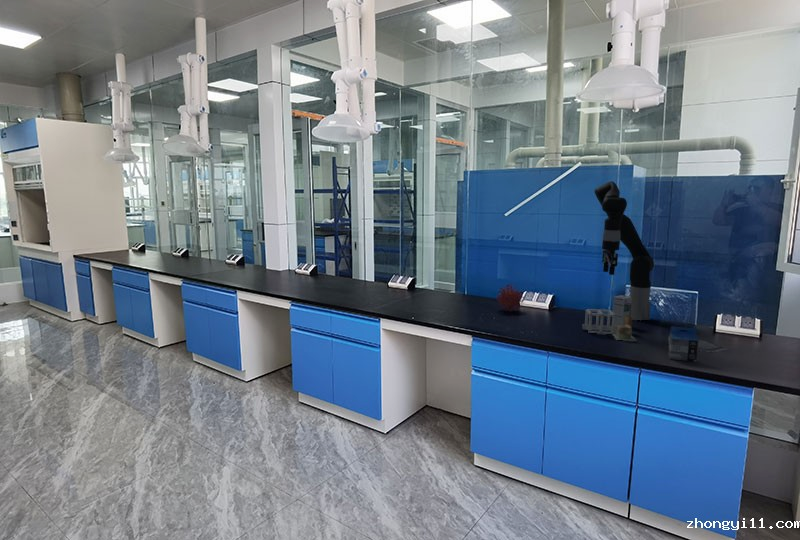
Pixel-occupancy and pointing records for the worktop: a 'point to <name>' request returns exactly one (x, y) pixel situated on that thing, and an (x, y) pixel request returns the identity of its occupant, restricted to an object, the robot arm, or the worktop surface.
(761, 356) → the worktop surface
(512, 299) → the virus model
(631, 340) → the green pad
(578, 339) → the worktop surface
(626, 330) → the beech block
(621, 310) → the syrup box
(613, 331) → the gray angular frame
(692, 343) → the label tape box
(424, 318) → the worktop surface
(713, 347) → the security device
